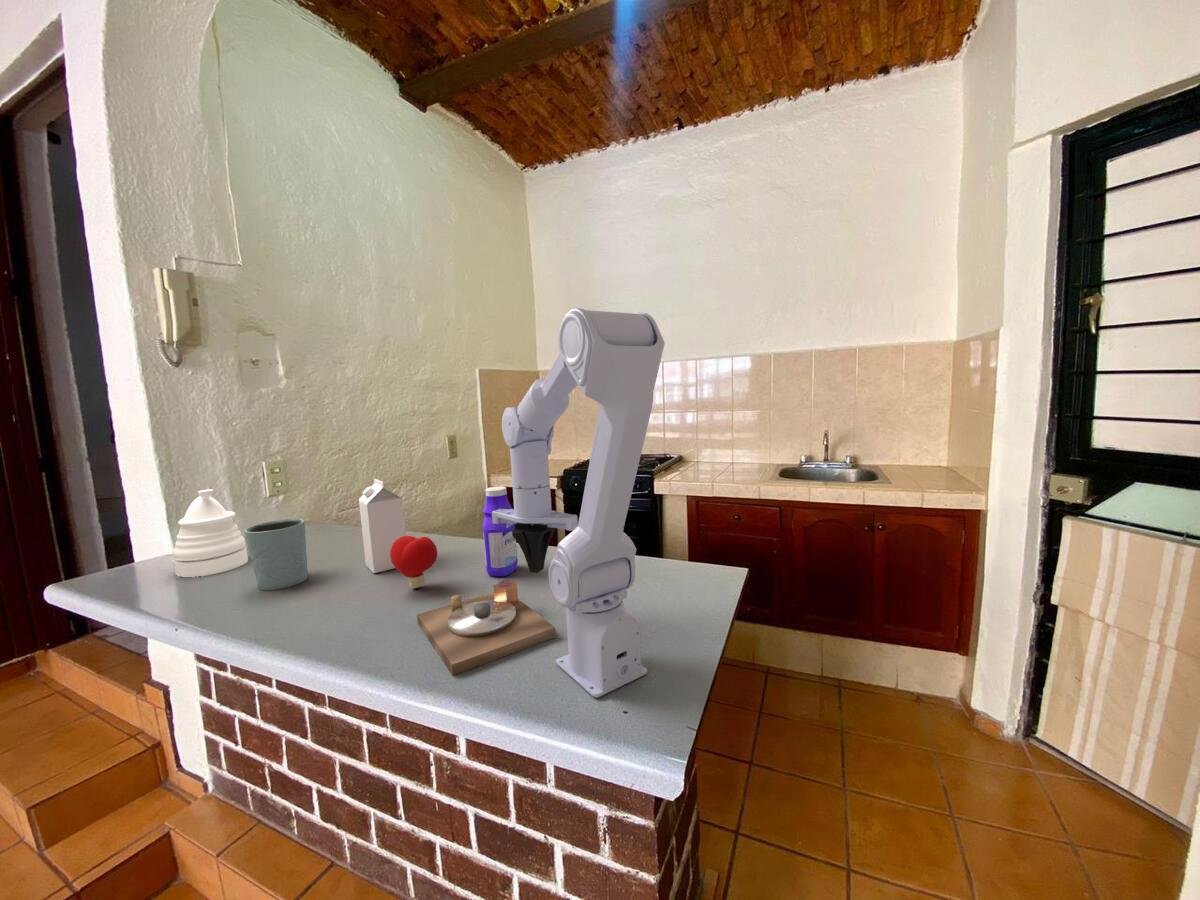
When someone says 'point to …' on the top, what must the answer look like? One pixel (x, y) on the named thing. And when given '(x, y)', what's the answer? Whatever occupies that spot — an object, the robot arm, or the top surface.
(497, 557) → the bottle
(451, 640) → the mounting board
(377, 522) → the milk carton
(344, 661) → the top surface
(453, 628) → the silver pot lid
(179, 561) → the honey pot
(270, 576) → the teal cylindrical pot
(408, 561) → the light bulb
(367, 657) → the top surface
